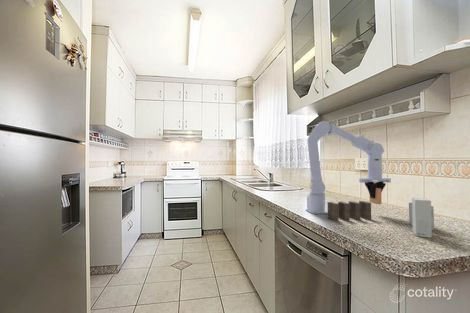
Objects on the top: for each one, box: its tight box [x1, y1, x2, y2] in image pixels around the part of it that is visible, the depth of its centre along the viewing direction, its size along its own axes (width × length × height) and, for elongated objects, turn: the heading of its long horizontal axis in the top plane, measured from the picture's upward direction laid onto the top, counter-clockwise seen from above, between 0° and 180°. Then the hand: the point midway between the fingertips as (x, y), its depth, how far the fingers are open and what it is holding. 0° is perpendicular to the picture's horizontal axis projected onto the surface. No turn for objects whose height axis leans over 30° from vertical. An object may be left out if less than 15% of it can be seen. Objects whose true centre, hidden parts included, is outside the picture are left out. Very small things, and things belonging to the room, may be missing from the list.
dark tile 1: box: [327, 201, 339, 222], centre depth 99 cm, size 5×2×7 cm, turn 7°
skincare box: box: [411, 197, 433, 239], centre depth 78 cm, size 6×4×12 cm
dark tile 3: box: [348, 200, 361, 221], centre depth 101 cm, size 5×2×7 cm, turn 7°
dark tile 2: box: [337, 201, 351, 221], centre depth 100 cm, size 5×2×7 cm, turn 7°
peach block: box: [369, 188, 382, 205], centre depth 107 cm, size 5×2×7 cm, turn 7°
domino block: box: [358, 200, 372, 221], centre depth 101 cm, size 5×2×7 cm, turn 7°
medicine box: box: [408, 202, 435, 231], centre depth 87 cm, size 8×4×9 cm, turn 168°
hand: (375, 198), depth 107 cm, fingers closed on peach block, 2 cm apart
